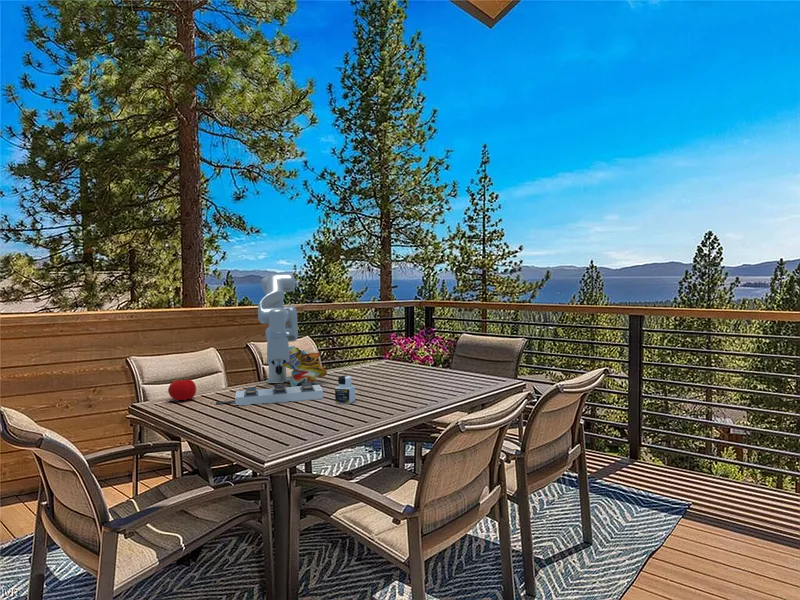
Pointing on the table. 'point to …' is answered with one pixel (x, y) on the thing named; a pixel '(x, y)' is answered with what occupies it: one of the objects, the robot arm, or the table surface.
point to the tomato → (182, 389)
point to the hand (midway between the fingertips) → (279, 374)
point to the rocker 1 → (250, 390)
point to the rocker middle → (279, 388)
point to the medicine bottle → (344, 390)
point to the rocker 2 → (307, 386)
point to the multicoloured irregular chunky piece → (304, 366)
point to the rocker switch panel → (277, 395)
